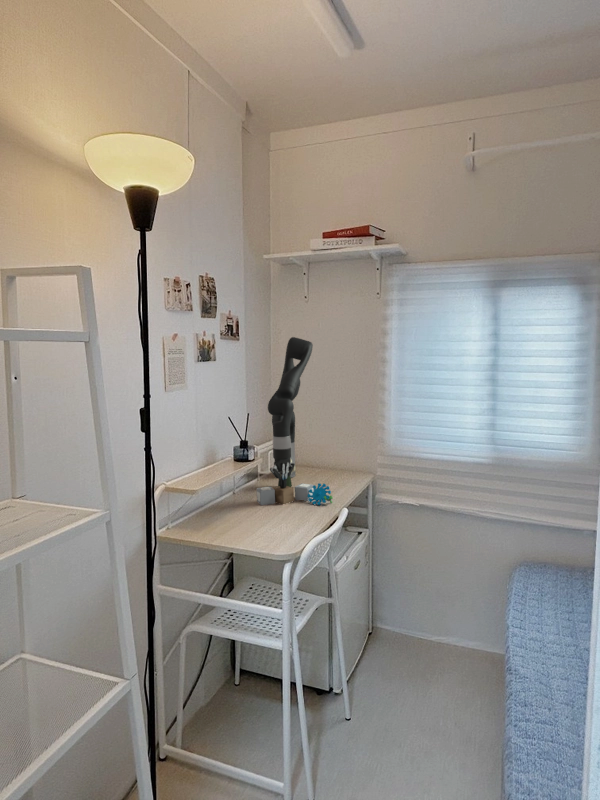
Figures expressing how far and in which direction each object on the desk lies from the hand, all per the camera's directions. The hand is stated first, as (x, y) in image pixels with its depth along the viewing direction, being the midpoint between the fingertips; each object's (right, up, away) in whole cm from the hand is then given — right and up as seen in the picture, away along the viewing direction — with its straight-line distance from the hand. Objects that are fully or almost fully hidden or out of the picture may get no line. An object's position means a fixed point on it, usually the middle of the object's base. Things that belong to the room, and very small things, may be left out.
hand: (283, 487), depth 222 cm
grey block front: (-7, -6, 0) cm, 10 cm away
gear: (+16, -6, -3) cm, 17 cm away
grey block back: (+9, -6, +4) cm, 11 cm away
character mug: (0, -4, +22) cm, 22 cm away
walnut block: (0, -6, +1) cm, 6 cm away
